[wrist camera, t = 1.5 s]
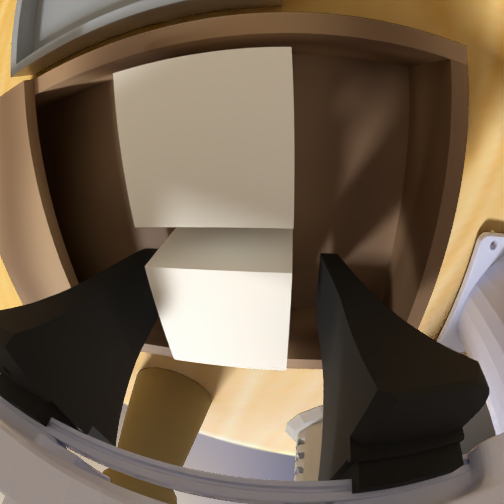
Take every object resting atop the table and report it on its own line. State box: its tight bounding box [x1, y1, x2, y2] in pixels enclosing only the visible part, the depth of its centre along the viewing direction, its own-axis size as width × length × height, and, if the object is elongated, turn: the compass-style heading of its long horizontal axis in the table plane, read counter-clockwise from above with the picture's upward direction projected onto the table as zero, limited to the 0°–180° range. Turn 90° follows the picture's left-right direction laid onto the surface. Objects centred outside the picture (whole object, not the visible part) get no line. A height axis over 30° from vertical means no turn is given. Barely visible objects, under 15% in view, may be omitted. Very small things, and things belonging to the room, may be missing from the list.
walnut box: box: [0, 12, 469, 369], centre depth 9 cm, size 18×12×4 cm, turn 92°
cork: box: [103, 368, 212, 504], centre depth 14 cm, size 6×6×11 cm
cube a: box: [145, 227, 293, 370], centre depth 10 cm, size 4×4×4 cm
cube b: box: [113, 47, 294, 229], centre depth 7 cm, size 4×4×4 cm
